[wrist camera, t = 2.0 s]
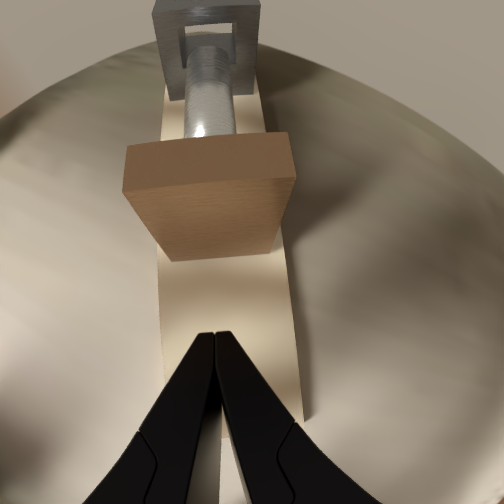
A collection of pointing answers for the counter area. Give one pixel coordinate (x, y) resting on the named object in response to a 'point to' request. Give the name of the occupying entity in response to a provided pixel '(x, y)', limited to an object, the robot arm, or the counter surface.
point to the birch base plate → (231, 290)
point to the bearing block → (207, 39)
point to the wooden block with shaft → (211, 174)
